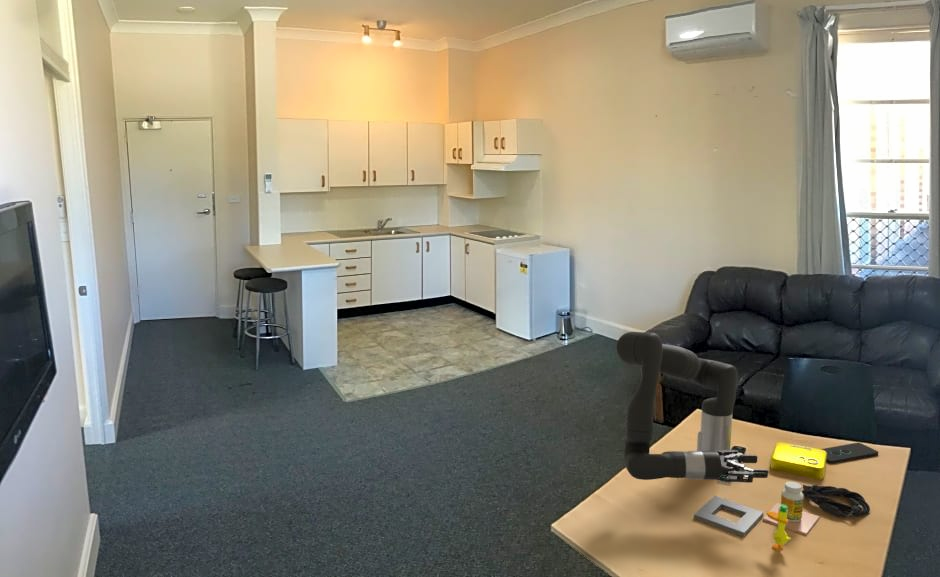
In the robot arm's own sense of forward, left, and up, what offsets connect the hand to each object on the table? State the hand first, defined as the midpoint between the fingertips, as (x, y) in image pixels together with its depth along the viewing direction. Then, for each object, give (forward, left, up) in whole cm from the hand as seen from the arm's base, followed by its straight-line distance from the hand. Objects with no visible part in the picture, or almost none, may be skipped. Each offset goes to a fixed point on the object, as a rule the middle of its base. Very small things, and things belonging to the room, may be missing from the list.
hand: (762, 466), depth 180 cm
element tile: (-2, +39, -16) cm, 42 cm away
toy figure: (+9, -12, -15) cm, 21 cm away
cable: (+13, +21, -16) cm, 29 cm away
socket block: (-6, -6, -15) cm, 17 cm away
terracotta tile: (+7, +4, -15) cm, 17 cm away
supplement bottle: (+7, +4, -15) cm, 17 cm away
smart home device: (+7, +58, -16) cm, 60 cm away
